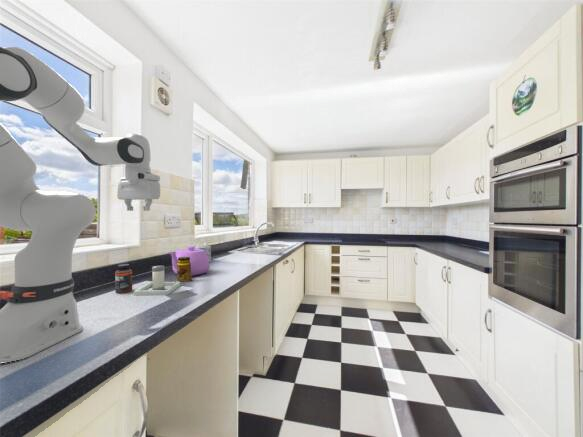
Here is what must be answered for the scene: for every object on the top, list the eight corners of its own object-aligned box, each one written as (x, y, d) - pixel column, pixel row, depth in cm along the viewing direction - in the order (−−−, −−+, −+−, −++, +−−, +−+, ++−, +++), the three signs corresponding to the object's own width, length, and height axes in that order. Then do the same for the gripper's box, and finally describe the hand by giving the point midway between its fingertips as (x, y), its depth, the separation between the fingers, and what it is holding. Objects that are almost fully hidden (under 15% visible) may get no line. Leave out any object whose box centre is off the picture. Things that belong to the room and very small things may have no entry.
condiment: (176, 284, 114) (176, 259, 114) (176, 280, 122) (176, 256, 122) (193, 283, 117) (192, 258, 117) (192, 278, 125) (192, 255, 125)
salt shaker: (164, 291, 102) (164, 267, 102) (151, 292, 100) (151, 268, 100) (164, 288, 106) (164, 265, 106) (152, 289, 104) (152, 265, 104)
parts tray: (167, 297, 97) (167, 290, 97) (133, 297, 96) (133, 291, 96) (180, 287, 110) (180, 281, 110) (150, 287, 109) (150, 282, 109)
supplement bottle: (129, 288, 108) (129, 262, 108) (134, 291, 104) (134, 264, 104) (113, 291, 104) (113, 264, 103) (117, 294, 100) (117, 266, 100)
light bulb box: (204, 260, 172) (204, 245, 172) (211, 261, 169) (211, 245, 169) (191, 263, 163) (191, 247, 163) (199, 264, 160) (199, 247, 159)
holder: (198, 297, 98) (198, 294, 98) (175, 303, 91) (175, 300, 91) (187, 292, 103) (187, 289, 103) (165, 297, 97) (165, 295, 97)
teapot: (188, 268, 148) (188, 243, 148) (214, 272, 138) (214, 245, 138) (151, 276, 128) (151, 248, 127) (179, 282, 118) (179, 251, 118)
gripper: (112, 176, 100) (112, 210, 101) (149, 174, 93) (149, 210, 94) (127, 178, 106) (127, 210, 107) (163, 176, 99) (163, 210, 99)
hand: (138, 210), depth 100 cm, fingers open, 8 cm apart
